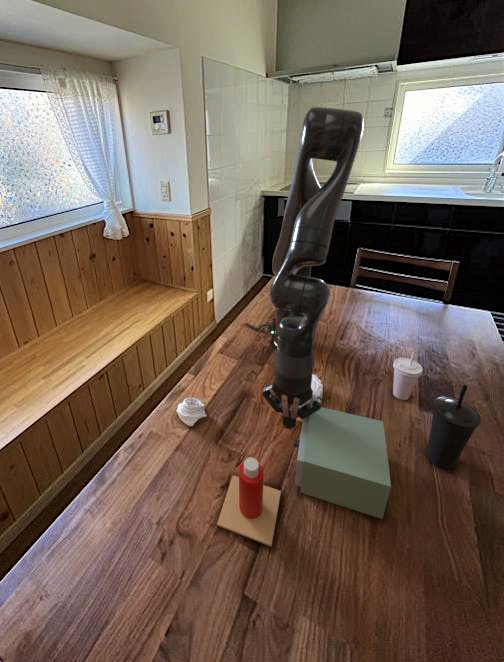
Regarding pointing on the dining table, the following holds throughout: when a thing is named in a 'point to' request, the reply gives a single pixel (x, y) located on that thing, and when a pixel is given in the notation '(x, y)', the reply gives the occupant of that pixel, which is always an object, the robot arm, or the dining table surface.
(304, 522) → the dining table surface
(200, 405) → the whipped cream
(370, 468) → the cabinet
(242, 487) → the ketchup bottle
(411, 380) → the smoothie
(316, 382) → the mooncake
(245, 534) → the cork coaster
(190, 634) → the dining table surface
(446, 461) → the drinking cup
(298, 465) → the drawer
